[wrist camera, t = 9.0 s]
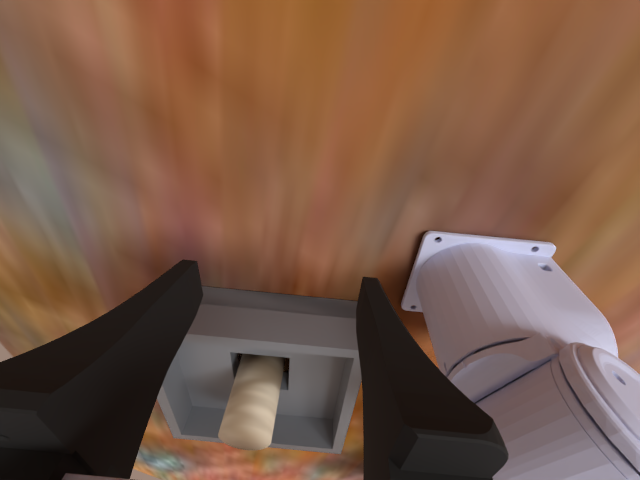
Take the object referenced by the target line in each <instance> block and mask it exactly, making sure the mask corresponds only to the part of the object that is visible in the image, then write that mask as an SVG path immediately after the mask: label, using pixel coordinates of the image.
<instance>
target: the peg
mask: <svg viewBox="0 0 640 480" xmlns="http://www.w3.org/2000/svg"><path fill="white" fill-rule="evenodd" d="M284 364H285V357H275V356H265V355H254V354H244V353H243V354H242V357H241V360H240V364H239V367H238V370H237V373H236V377H235V380H234V383H233V387H232V390H231V393H230V397H229V400H228V403H227V406H226V410H225V413H224V416H223V420H222V423H221V426H220V429H219V433H218V437H219V439H220V440H221V441H222V442H224V443H225V444H227V445H229V446H231V447H234V448H238V449H243V450H260V449H264V448H267V447H268V446H269V445H270V444H271V440H272V435H273V429H274V423H275V417H276V411H277V405H278V399H279V393H280V388H281V382H282V376H283V370H284Z"/></svg>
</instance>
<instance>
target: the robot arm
mask: <svg viewBox="0 0 640 480" xmlns="http://www.w3.org/2000/svg"><path fill="white" fill-rule="evenodd" d="M437 237H440V239H438V240H435V238H437ZM533 247H535V248H533ZM532 248H533V249H532ZM555 251H556V247H555V246H554V244H552V243H550V242H541V241H531V240H520V239H510V238H500V237H489V236H479V235H469V234H459V233H448V232H438V231H428V232H426V233H425V234H424V236H423V238H422V241H421V244H420V247H419V250H418V253H417V256H416V260H415V263H414V266H413V269H412V272H411V275H410V278H409V281H408V284H407V287H406V290H405V293H404V296H403V299H402V302H401V307H402V309H403V310H406V311H416V312H423V314H424V318H425V321H426V325H427V328H428V332H429V335H430V339H431V342H432V345H433V349H434V352H435V356H436V359H437V363H438V366H439V369H438V368H437V367H436V366H435V365H434V363H433V362H432V361H431V360H430V359H429V358H428V356H427V355H426V354H425V353H424V352H423V350H422V349H421V348H420V347H419V345H418V344H417V343H416V342H415V340H414V339H413V337H412V336H411V335H410V333H409V332H408V330H407V329H406V327H405V326H404V324H403V323H402V321H401V320H400V318H399V317H398V315H397V313H396V312H395V310H394V308H393V307H392V305H391V303H390V301H389V299H388V298H387V296H386V294H385V292H384V290H383V288H382V286H381V284H380V282H379V280H378V279H377V278H370V277H363V279H362V284H361V289H360V293H359V298H358V303H357V308H356V335H357V343H358V352H359V360H360V368H361V377H362V388H363V429H364V480H640V374H639V373H637V372H636V371H635V370H634V369H632V368H631V367H630V366H629V365H627V364H626V363H625V362H623V361H622V360H620V359H619V358H618V350H617V344H616V340H615V337H614V334H613V331H612V329H611V327H610V325H609V323H608V321H607V320H606V318H605V317H604V316H603V314H602V313H601V312H600V311H599V310H598V309H597V308H596V306H595V305H594V304H593V303H592V302H591V301H590V300H589V299H588V298H587V297H586V296H585V294H584V293H583V292H582V291H581V290H580V289H579V288H578V287H577V286H576V285H575V283H574V282H573V281H572V280H571V279H570V278H569V277H568V276H567V275H566V274H565V273H564V271H563V270H562V269H561V268H560V267H559V266H558V265H557V264H556V263H555V262H554V260H553V259H552V258H551V257H552V255H553V254H554V252H555ZM202 298H203V291H202V285H201V280H200V275H199V270H198V265H197V261H191V260H182V261H180V262H179V263H178V264H176V265H175V266H174V267H172V268H171V269H170V270H168V271H167V272H166V273H164V274H163V275H162V276H160V277H159V278H158V279H156V280H155V281H154V282H152V283H151V284H150V285H148V286H147V287H146V288H144V289H143V290H141V291H140V292H138V293H137V294H135V295H134V296H132V297H131V298H130V299H128V300H127V301H125V302H124V303H122V304H121V305H119V306H117V307H116V308H114V309H113V310H111V311H109V312H108V313H106V314H104V315H102V316H101V317H99V318H97V319H95V320H94V321H92V322H90V323H88V324H86V325H84V326H82V327H80V328H78V329H76V330H74V331H72V332H70V333H68V334H66V335H64V336H62V337H60V338H58V339H56V340H54V341H51V342H49V343H47V344H45V345H42V346H40V347H38V348H35V349H33V350H31V351H28V352H26V353H23V354H21V355H18V356H16V357H13V358H10V359H8V360H5V361H2V362H0V480H133V479H130V476H131V473H132V469H133V466H134V463H135V460H136V457H137V454H138V450H139V447H140V444H141V441H142V438H143V435H144V433H145V430H146V427H147V424H148V421H149V418H150V415H151V413H152V410H153V407H154V405H155V402H156V399H157V397H158V394H159V391H160V389H161V386H162V384H163V381H164V379H165V376H166V374H167V372H168V369H169V367H170V365H171V363H172V361H173V359H174V357H175V355H176V353H177V352H178V350H179V348H180V346H181V344H182V342H183V340H184V338H185V336H186V334H187V332H188V331H189V329H190V327H191V325H192V323H193V321H194V319H195V317H196V314H197V312H198V309H199V306H200V304H201V301H202ZM413 305H415V306H413Z"/></svg>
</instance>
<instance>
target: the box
mask: <svg viewBox="0 0 640 480" xmlns="http://www.w3.org/2000/svg"><path fill="white" fill-rule="evenodd" d="M202 291H203V298H202V301H201V304H200V306H199V309H198V312H197V314H196V317H195V319H194V321H193V323H192V325H191V327H190V329H189V331H188V332H187V334H186V336H185V338H184V340H183V342H182V344H181V346H180V348H179V350H178V352H177V353H176V355H175V357H174V359H173V361H172V363H171V365H170V367H169V369H168V372H167V374H166V376H165V379H164V381H163V384H162V386H161V389H160V391H159V394H158V397H157V400H158V402H159V404H160V407H161V409H162V411H163V414H164V416H165V419H166V421H167V423H168V426H169V428H170V430H171V433H172V435H173V438H179V439H189V440H199V441H210V442H220V443H224V442H222V441H221V440H220V439H219V437H218V433H219V429H220V426H221V423H222V420H223V416H224V413H225V410H226V406H227V403H228V400H229V397H230V393H231V390H232V387H233V383H234V380H235V377H236V373H237V370H238V367H239V356H238V353H244V354H254V355H265V356H275V357H285V358H290V362H289V372H283V376H282V382H281V388H280V393H279V399H278V405H277V411H276V417H275V423H274V429H273V435H272V440H271V444H270V445H269V446H268V447H272V448H282V449H293V450H303V451H314V452H324V453H334V454H341V452H342V448H343V445H344V441H345V437H346V434H347V430H348V427H349V423H350V420H351V416H352V412H353V409H354V405H355V402H356V398H357V395H358V391H359V387H360V384H361V380H362V377H361V368H360V360H359V352H358V343H357V335H356V308H357V303H358V301H350V300H340V299H329V298H319V297H309V296H299V295H288V294H278V293H268V292H257V291H247V290H237V289H226V288H216V287H206V286H202Z"/></svg>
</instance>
